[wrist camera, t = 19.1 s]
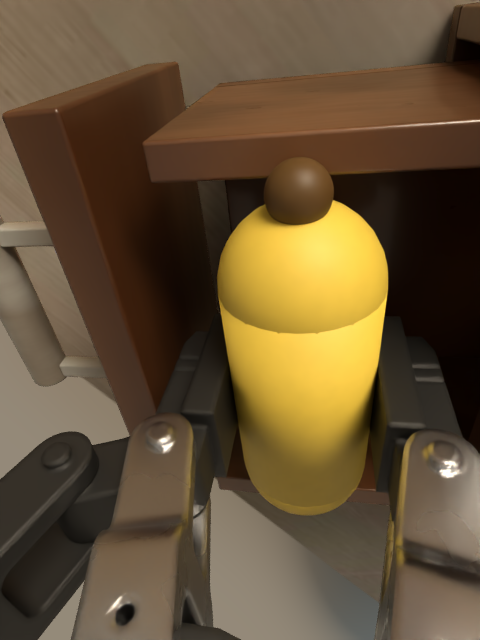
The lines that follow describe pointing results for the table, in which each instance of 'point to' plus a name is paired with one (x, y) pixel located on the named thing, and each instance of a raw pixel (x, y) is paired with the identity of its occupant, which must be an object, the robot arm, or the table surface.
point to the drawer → (241, 214)
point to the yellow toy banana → (303, 338)
